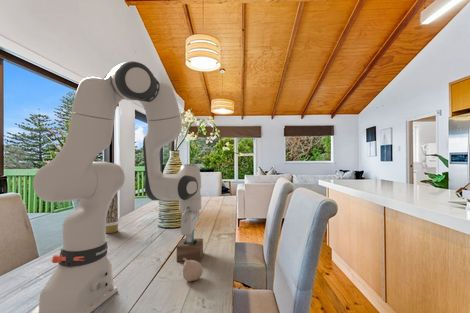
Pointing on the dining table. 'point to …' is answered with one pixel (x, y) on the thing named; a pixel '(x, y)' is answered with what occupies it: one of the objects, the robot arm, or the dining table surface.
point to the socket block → (190, 250)
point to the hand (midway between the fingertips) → (190, 239)
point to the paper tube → (112, 216)
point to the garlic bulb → (192, 270)
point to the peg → (192, 238)
